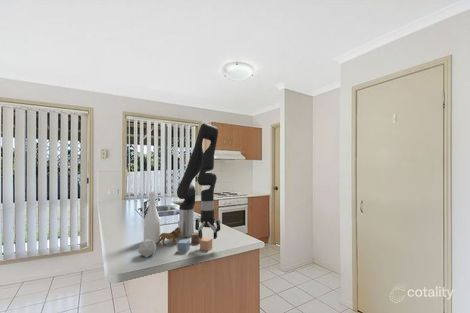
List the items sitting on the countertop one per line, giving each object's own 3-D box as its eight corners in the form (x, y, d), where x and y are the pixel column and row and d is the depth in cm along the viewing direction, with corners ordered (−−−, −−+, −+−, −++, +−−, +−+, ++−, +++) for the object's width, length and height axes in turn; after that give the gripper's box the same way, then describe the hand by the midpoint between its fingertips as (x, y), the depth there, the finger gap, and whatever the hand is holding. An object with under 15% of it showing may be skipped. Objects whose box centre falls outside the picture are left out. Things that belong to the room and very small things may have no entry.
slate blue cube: (177, 252, 126) (177, 242, 126) (180, 249, 131) (180, 239, 131) (186, 252, 125) (186, 243, 126) (189, 249, 130) (189, 240, 131)
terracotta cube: (200, 249, 130) (200, 240, 130) (204, 246, 135) (204, 237, 135) (208, 250, 128) (208, 241, 129) (212, 247, 133) (212, 238, 133)
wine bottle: (163, 240, 146) (164, 191, 147) (152, 245, 137) (152, 192, 138) (151, 238, 150) (152, 190, 151) (140, 242, 141) (140, 192, 142)
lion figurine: (180, 240, 145) (180, 226, 145) (182, 243, 140) (182, 228, 140) (155, 244, 138) (155, 228, 139) (156, 247, 133) (156, 231, 134)
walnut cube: (191, 243, 141) (191, 234, 141) (194, 240, 145) (194, 232, 146) (199, 243, 139) (199, 235, 140) (202, 241, 144) (202, 232, 144)
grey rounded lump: (145, 252, 127) (134, 240, 123) (160, 244, 128) (149, 232, 124) (144, 264, 119) (133, 251, 115) (159, 255, 120) (149, 242, 116)
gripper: (192, 209, 131) (193, 239, 131) (216, 210, 127) (217, 241, 126) (198, 207, 138) (199, 235, 138) (221, 208, 134) (222, 237, 133)
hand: (207, 238), depth 132 cm, fingers open, 8 cm apart
